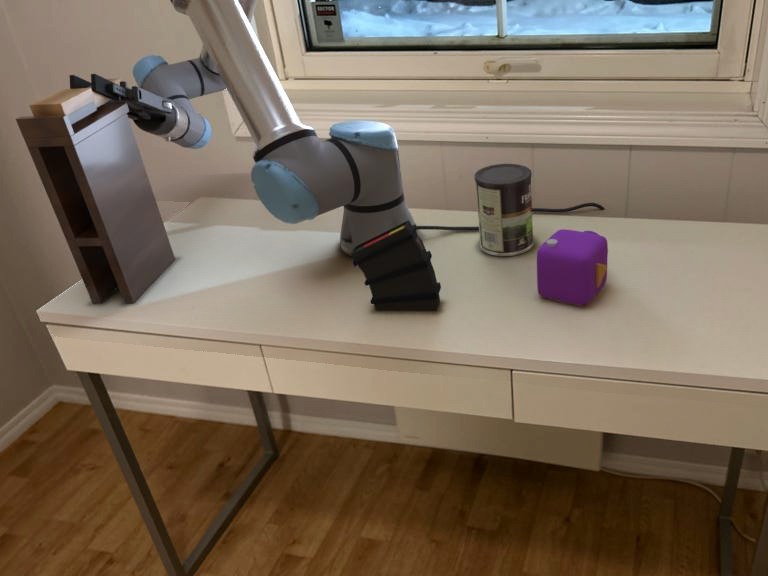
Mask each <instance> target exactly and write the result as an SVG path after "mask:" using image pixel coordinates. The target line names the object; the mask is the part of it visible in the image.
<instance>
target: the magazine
mask: <svg viewBox="0 0 768 576" xmlns="http://www.w3.org/2000/svg"><path fill="white" fill-rule="evenodd" d="M416 225H417V223H416V224H414V225H412V224H411V223H410V221H409V220H407V221H405V222H403V223H401V224H399V225H397V226H395V227H393V228H391V229H389V230H387V231H385V232H383V233H381V234H379V235H377V236H375V237H373V238H371V239H369V240H367V241H365V242H363V243H361V244H359V245H357V246H355V247H354V249H353V250H352V252H351V254H350V255H351V256H350V255H349V256H350V257H351V258H352V262H351V264H352V266H353V267H357V266H358V268H359V269H360V271H361V272H362V274H363V276H364V278H365V281H364V285H365V287H367V286H369V289H370V292H371V296H372V297H371V299H370V305H373V307H374V310H375V311H376V312H437V311H439V307H440V304H441V298H440V297H441V296H440V292H441V289H442V286H441V282H440V281H439V282H438V281H437V277H436V272H435V269H434V266H433V263H432V261H431V260H432V257H433V255H432V252H431V250H428V251H427V249H426V247H425V245H424V242H423V240H422V239H421V237H420V235H418V234H417V232H416V231H417V229H418V227H417V226H418V225H417V226H416ZM418 230H419V229H418Z"/></svg>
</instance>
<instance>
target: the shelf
mask: <svg viewBox="0 0 768 576" xmlns="http://www.w3.org/2000/svg"><path fill="white" fill-rule="evenodd" d="M128 112H129V109H128V105H127V103H117V104H103V105H101V106H99V107H97V111H95V112H93V113H91V114H89V115H88V116H86V117H84V118H82V119H81V120H79V121H77V122H75V123H74V124H72V125H71V123H70V121H69V118H68V115H50V116H33V115H30V116H26V115H25V116H18V117H17V118H15V121H16V124H17V126H18V129H19V131H20V134H21V137H22V138H23V140H24V143H25V145H26V148H27V150H28V152H29V154H30V157H31V160H32V162H33V164H34V167H35V169H36V171H37V174H38V176H39V179H40V181H41V184H42V186H43V188H44V191H45V193H46V195H47V198H48V200H49V202H50V205H51V208H52V210H53V213H54V214H55V217H56V219H57V222H58V224H59V227H60V229H61V232H62V235H63V237H64V238H65V239H64V240H65V241H66V244H67V246H68V247H69V250H70V253H71V256H72V258H73V260H74V262H75V265H76V267H77V269H78V272H79V275H80V277H81V280H82V281H83V284H84V286H85V287H84V288H85V289H86V291H87V294H88V296H89V299H90V301H91V303H92V304H103V303H104V302H105V301H106V300H107V298H109V297H110V296H111V295H112V294H113V293H114V292H115V291H116V290H117V289H118V290H119V293H120V295H121V298H122V301H123V303H124V304H135V302H137V301H138V299H139V298H141V297H142V295H143V294H144V293H145V292H146V291H147V290H148V289H150V288H151V286H152V285H153V284H154V283H155V282H156V281H157V280H158V278H159V277H160V276H161V275H162V274H163V273H164V272H165V271H166V270H167V269H168V268H170V266H171V265H172V264H173V263H174V262H175V260H176V257H175V253H174V250H173V247H172V245H171V243H170V242H171V241H170V239H169V236H168V233H167V230H166V227H165V224H164V221H163V218H162V215H161V211H160V209H159V206H158V202H157V200H156V197H155V194H154V191H153V188H152V185H151V182H150V179H149V175H148V173H147V170H146V167H145V164H144V160H143V158H142V155H141V151H140V149H139V146H138V143H137V140H136V137H135V134H134V129H133V128H132V125H131V122H130V118H129V117H128V115H127V113H128Z"/></svg>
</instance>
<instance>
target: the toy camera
mask: <svg viewBox="0 0 768 576" xmlns="http://www.w3.org/2000/svg"><path fill="white" fill-rule="evenodd" d="M608 253H609V247H608V240H607V238H606V237H605V236H604V235H603V236H602V235H601V234H599V233H598V232H595V231H593V230H584V231H578V230H573V229H566V228H564V229H563V228H561V229H558V230H556V231H555V232H554V233H553V234H552V235H551V236H550V237H549V238H548V239H546V241H544V242H543V243H542V244H541V245H540V246H539V247H538V249H537V251H536V285H537V293H538V295H539V296H540V297H542V298H544V299H548V300H552V301H557V302H561V303H566V304H570V305H576V306H586V305H588V304H589V303H591V302H592V300H593V299H594V298H595V297H596V296H597V294H598V293H599V292H600V291H601V290H602V289H603V288H604V286H605V284H606V282H607V279H608V256H609V255H608Z"/></svg>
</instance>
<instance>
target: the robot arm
mask: <svg viewBox="0 0 768 576" xmlns="http://www.w3.org/2000/svg"><path fill="white" fill-rule="evenodd" d="M169 1H170V3H171V4H172V7H173V8H174V10H175V11H176V12H177V13H180V14H181V15H185V16H187V17H188V18H189V19H190V22H191V23H192V26H193V27H194V29H195V31H196V33H197V34H198V37H199V39H200V40H201V43H202V46H201V50H200V53H199V56H198V57H195V58H191V59H187V60H184V61H179V62H175V63H170V64H169V63H168V62H167V60H166V59H165V58H164V57H163V56H161V55H155V54H150V55H146V56H143V57H142V58H140V59H139V60H137V62H136V63H135V64H134V65H133V68H132V76H133V78H134V81H135V83H136V84H137V85H134V86H133V85H132V86H131V88H130V87H128V82H127V81H123V80H121V81H120V86H118V84H116V83H113V82H111V81H109V80H107V79H108V78H105V77H103V76H101V75H99V74H96V73H91V74H90V81H89V80H86V79H84V78H82V77H79V76H77V75H75V74H69V89H79V88H88V87H90V86H91V87H92V91H94V92H96V93H99V94H101V95H103V96H106V97H108V98H110V99H112V100H110V101H108V102H106V103H104V104H117V103H127V105H128V109H129V112H128V113H127V115H128V118H129V120H132V121H133V123H134V125H135V126H136V127H137V128H138V129H139V130H141V131H143V132H146V133H149V134H150V135H154V136H157V137H159V138H162V139H163V140H165V142H166V143H170V142H172V143H174V144H176V145H178V146H180V147H182V148H186V149H192V150H198V149H202V148H204V147H205V146H206V145H207V144H208V143H209V142H210V140H211V137H212V127H211V124H210V122H209V121H208V120H207V118H205V117H204V116H203V115H202V114H200V113H197V111H196V110H195V108H194V106H193V105H192V103H191V101H190V100H192V99H196V98H198V97H203V96H208V95H211V94H215V93H219V92H222V91H223V92H224V91H225V90H224V89H226V88H227V90H226V91H227V92H228V94H229V96H230V98H231V100H232V101H233V104H234V106H235V107H236V109H237V111H238V113H239V115H240V117H241V119H242V120H243V123H244V124H245V127H246V129H247V130H248V132H249V134H250V136H251V138H252V140H253V142H254V144H255V148H254V151H253V153H252V159H253V161H254V163H255V164H254V165H253V166H252V168H251V173H250V177H251V181H252V183H253V184H254V185H253V188H254V190H255V193H256V195H257V197H258V199H259V200H260V202H261V204H262V205H263V206H264V207H265V209H266V210H267V211H268V213H270V214H271V215H272V216H273V217H274V218H276V219H277V220H279V221H281V223H285V224H287V225H288V224H289V225H295V224H300V223H302V222H303V223H304V222H305V221H312V220H314V219H315V218H317V217H318V216H320V215H323V214H326V213H328V212H331V211H334V210H337V209H339V208H342V207H343V214H342V221H341V227H340V233H339V234H340V236H339V242H340V248H341V250H342V252H344V253H345V254H346V255H348V256H349V257H352V256H351V255H350V254H351V252H352V250H353V249H354V247H355V246H357V245H359V244H361V243H363V242H365V241H367V240H369V239H371V238H373V237H375V236H377V235H379V234H381V233H383V232H385V231H387V230H389V229H391V228H393V227H395V226H397V225H399V224H401V223H403V222H405V221H407V220H409V221H410V223H411V224H412V225H414V224H416V226H417V227H418V229H417V231H416V232H417V234H418V235H419V230H435V231H436V230H437V231H479V225H478V226H445V225H443V226H442V225H418V224H417V223H416V221H415V219H414V216H413V215H412V212H411V211H410V209H409V206H408V205H407V202H406V200H405V199H406V198H405V192H404V185H403V178H402V170H401V169H402V168H401V162H400V154H399V151H400V147H399V146H398V140H397V135H396V132H395V130H394V128H392V127H391V126H390V125H388V124H386V123H383V122H379V121H373V120H348V121H342V122H337V123H334V124H332V125H331V126H330V127H329V133H328V135H329V136H330V138H328V139H325V140H322V141H321V140H320V138H319V136H318V134H317V133H316V130H315V128H313V127H311V126H309V125H305V124H304V123H302V122H301V120H300V118H299V116H298V115H297V112H296V110H295V108H294V107H293V104H292V103H291V101H290V99H289V97H288V95H287V93H286V91H285V88H284V87H283V85H282V84H281V81H280V79H279V78H278V76H277V74H276V71H275V70H274V68H273V66H272V64H271V62H270V60H269V58H268V56H267V54H266V52H265V50H264V48H263V46H262V44H261V43H260V40H259V38H258V37H257V35H256V32H255V30H254V29H253V27H252V24H251V22H252V19H253V16H254V13H255V10H256V7H257V5H258V2H259V0H169ZM588 207H594V208H597V209H599V210H601V211H605V210H606V208H605V207H604V206H603V205H601V204H599V203H596V202H585V203H581V204H578V205H574V206H571V207H567V208H544V207H543V208H542V207H532V213H534V212H536V213H537V212H538V213H568V212H572V211H576V210H579V209H583V208H588ZM419 236H420V235H419Z"/></svg>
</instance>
